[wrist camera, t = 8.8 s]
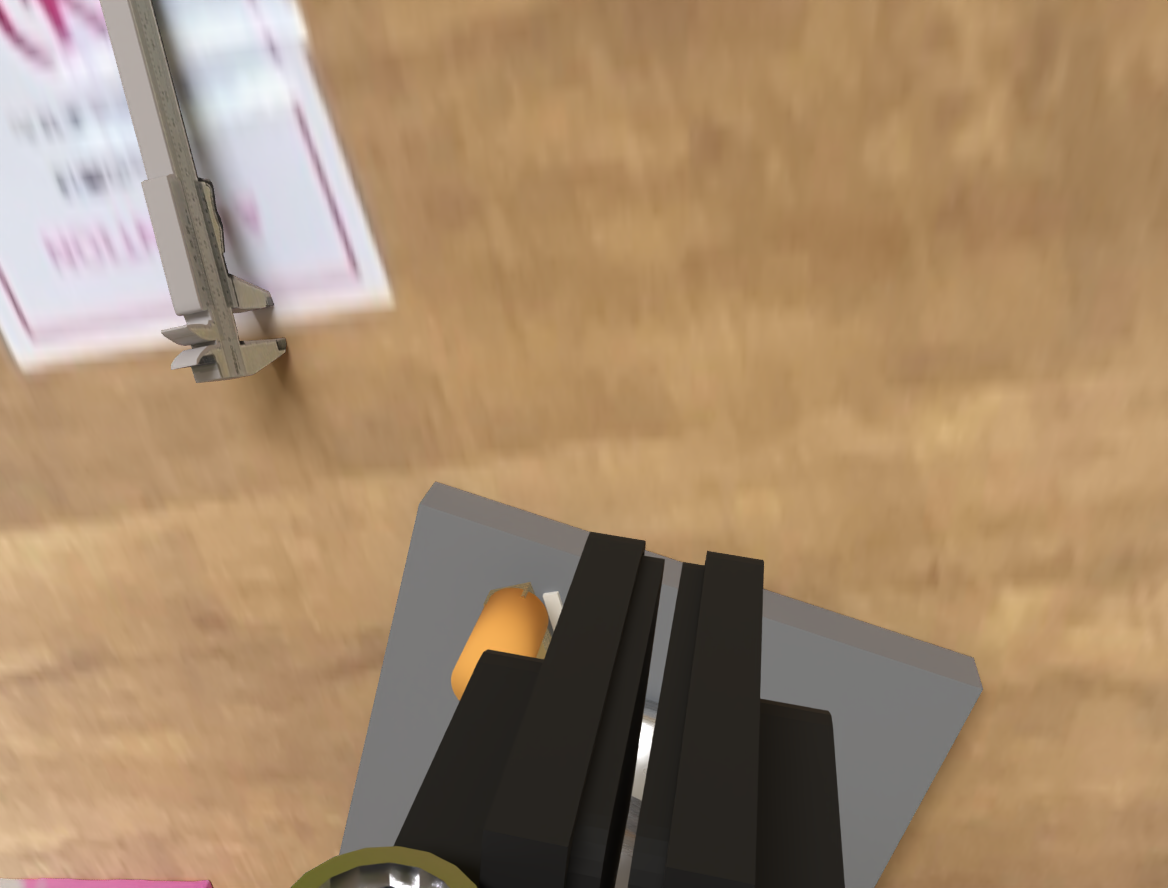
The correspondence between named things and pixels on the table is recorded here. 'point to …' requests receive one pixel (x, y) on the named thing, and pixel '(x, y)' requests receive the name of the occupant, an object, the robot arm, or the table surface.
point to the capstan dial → (523, 630)
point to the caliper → (183, 210)
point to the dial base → (654, 675)
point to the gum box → (99, 883)
